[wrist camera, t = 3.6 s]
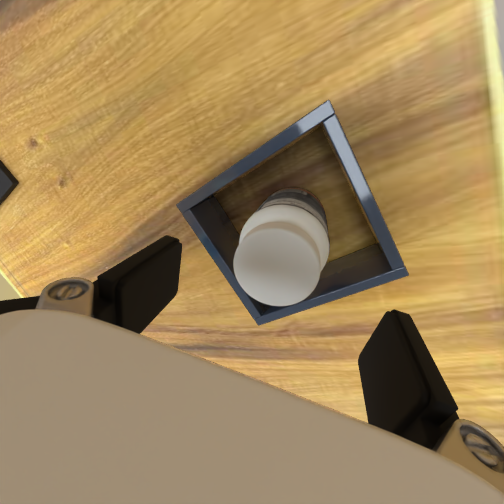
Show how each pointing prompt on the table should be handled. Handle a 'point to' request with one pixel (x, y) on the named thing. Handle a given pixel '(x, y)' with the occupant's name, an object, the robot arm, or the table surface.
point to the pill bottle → (283, 248)
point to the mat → (6, 182)
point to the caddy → (335, 272)
